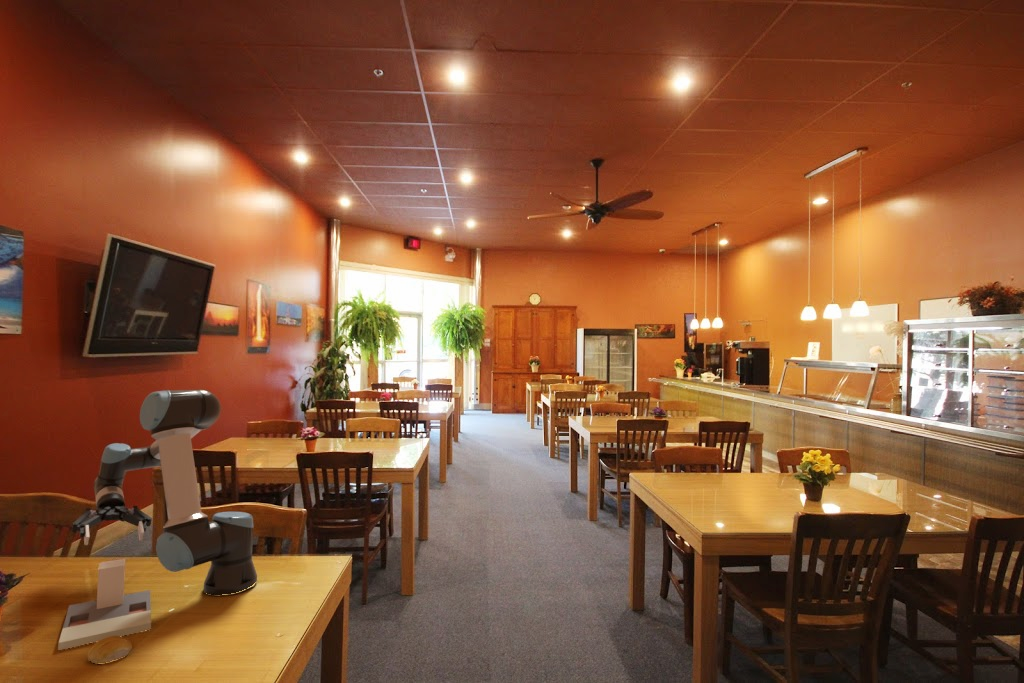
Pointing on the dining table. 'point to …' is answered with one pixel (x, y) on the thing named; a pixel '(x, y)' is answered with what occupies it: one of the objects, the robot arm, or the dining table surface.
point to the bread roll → (109, 649)
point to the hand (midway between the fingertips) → (115, 538)
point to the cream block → (111, 583)
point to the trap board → (107, 609)
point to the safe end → (104, 629)
